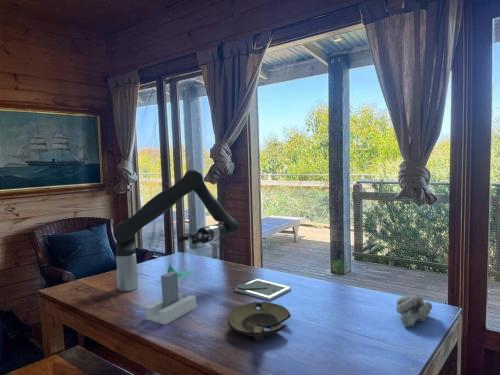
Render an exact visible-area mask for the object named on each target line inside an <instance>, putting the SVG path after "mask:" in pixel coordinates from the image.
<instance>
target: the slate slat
mask: <svg viewBox="0 0 500 375" xmlns="http://www.w3.org/2000/svg"><path fill="white" fill-rule="evenodd" d="M177 272H178V271H177ZM177 272H170V273H168V272H167V273H165V274H163V275H161V277H160V278H161V297H162V298H161V299H163V308H165V307H167V306H169V305H171V304H173V303H175V302H177V301H179V293H180V292H179V279H178V277H177ZM178 292H179V293H178Z"/></svg>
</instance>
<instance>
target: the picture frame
mask: <svg viewBox="0 0 500 375" xmlns="http://www.w3.org/2000/svg"><path fill="white" fill-rule="evenodd" d="M234 287H235V289H234V291H235V292H237V293H241V294H244V295H247V296H251V297H254V298H258V299H260V300H261V299H262V300H264V301H267V302H271V301H273V300H274V299H277V298H278V297H280V296H281V297H282V296H283V295H285V294H287V293H288V292H291V291H292V287H290V286H288V285H284V284H280V283H275V282H271V281H268V280H263V279H260V278H256V279H254V280H251V281H248V282H246V283H241V284H237V285H235V286H234ZM290 290H291V291H290Z"/></svg>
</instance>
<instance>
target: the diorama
mask: <svg viewBox="0 0 500 375" xmlns="http://www.w3.org/2000/svg"><path fill="white" fill-rule="evenodd" d="M170 272H177V277H178V280H182V279H186V278H187V277H190V276H192V274H193V271H192V270H189V271H188V270H183V271H177V270H176V268H175V267H174V266H173V264H172V262H169V264H168V268H167V273H170Z"/></svg>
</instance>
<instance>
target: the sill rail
mask: <svg viewBox="0 0 500 375" xmlns="http://www.w3.org/2000/svg"><path fill="white" fill-rule="evenodd" d="M178 293H179V301H177V302H175V303H173V304H171V305H169V306H167V307H165V308H163V298H161V299H160V300H157V301H156V302H152V303H151V304H149V305H146V306H145V307H144V312H145V313H144V314H145V316H144V317H145V320H148V321H151V322H154V323H157V324H158V323H159V324H161V325H165V326H166V325H167V324H168V325H169V323H171V322H173V321H175V320H177V319H178V318H180V317H182V316H184V315H185V314H187V313H189V312H191V311H193V310H195V309H197V307H198V306H197V296H196V295H193V294H189V295H188V296H186V297H183V293H182V292H179V291H178Z"/></svg>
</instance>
